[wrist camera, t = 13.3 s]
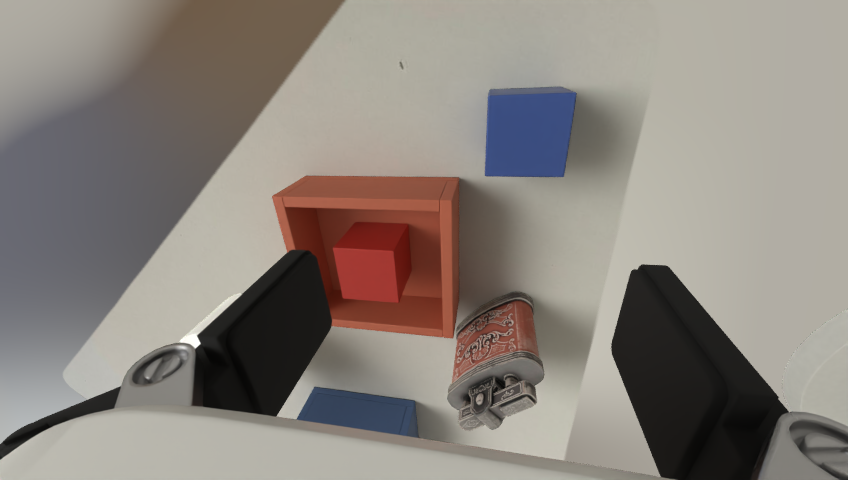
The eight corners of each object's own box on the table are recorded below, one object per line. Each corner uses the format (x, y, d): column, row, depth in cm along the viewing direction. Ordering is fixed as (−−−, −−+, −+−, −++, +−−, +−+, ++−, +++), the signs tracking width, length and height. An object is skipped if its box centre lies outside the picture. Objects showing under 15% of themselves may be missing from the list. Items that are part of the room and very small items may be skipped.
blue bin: (415, 400, 38) (405, 442, 34) (420, 458, 44) (412, 500, 39) (314, 386, 40) (293, 423, 36) (331, 443, 46) (314, 481, 42)
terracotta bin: (459, 177, 25) (452, 200, 21) (458, 300, 30) (453, 338, 26) (305, 175, 27) (271, 196, 23) (330, 290, 33) (306, 323, 28)
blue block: (562, 86, 21) (577, 92, 17) (552, 157, 23) (564, 177, 19) (489, 89, 22) (488, 95, 18) (486, 157, 24) (484, 176, 20)
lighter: (472, 348, 33) (464, 451, 24) (448, 326, 32) (431, 425, 23) (541, 309, 29) (562, 414, 20) (517, 284, 28) (527, 382, 20)
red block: (408, 223, 27) (393, 251, 23) (412, 270, 29) (398, 303, 25) (355, 221, 27) (332, 247, 24) (362, 267, 30) (342, 298, 26)
